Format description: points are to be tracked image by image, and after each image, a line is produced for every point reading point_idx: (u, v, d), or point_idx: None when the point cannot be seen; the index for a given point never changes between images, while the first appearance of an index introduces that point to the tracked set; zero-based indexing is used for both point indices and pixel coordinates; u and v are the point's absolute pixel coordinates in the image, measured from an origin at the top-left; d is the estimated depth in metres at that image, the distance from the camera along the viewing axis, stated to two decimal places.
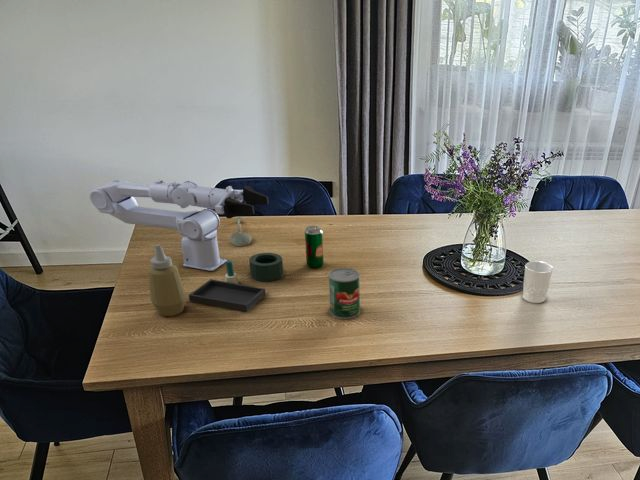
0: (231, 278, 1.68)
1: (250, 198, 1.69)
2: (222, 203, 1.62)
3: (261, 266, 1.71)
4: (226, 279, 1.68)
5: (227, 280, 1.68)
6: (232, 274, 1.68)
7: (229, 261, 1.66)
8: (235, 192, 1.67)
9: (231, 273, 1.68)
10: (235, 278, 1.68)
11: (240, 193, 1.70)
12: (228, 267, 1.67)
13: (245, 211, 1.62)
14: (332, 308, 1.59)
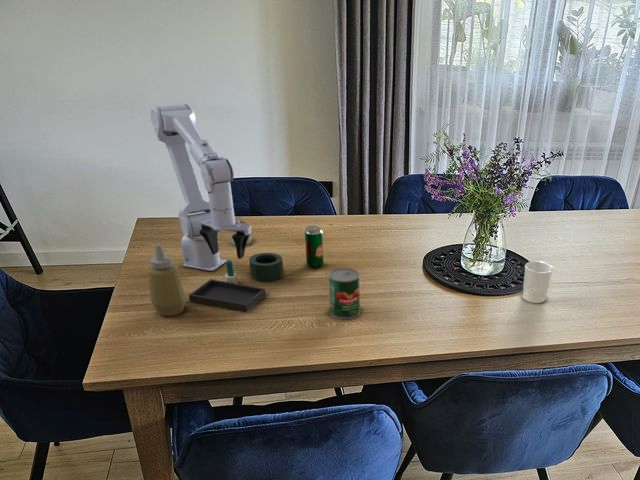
0: (231, 278, 1.68)
1: None
2: None
3: (261, 266, 1.71)
4: (226, 279, 1.68)
5: (227, 280, 1.68)
6: (232, 274, 1.68)
7: (229, 261, 1.66)
8: None
9: (231, 273, 1.68)
10: (235, 278, 1.68)
11: None
12: (228, 267, 1.67)
13: None
14: (332, 308, 1.59)
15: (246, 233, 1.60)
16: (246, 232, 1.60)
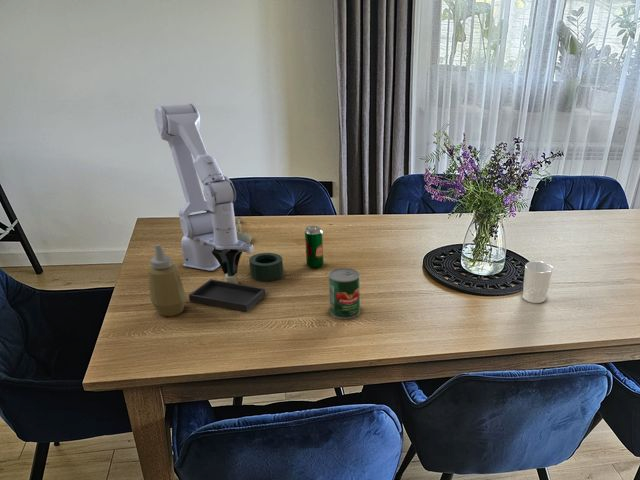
0: (231, 278, 1.68)
1: None
2: None
3: (261, 266, 1.71)
4: (226, 279, 1.68)
5: (227, 280, 1.68)
6: None
7: None
8: None
9: None
10: (235, 278, 1.68)
11: None
12: (228, 267, 1.67)
13: None
14: (332, 308, 1.59)
15: (248, 252, 1.63)
16: (248, 251, 1.62)
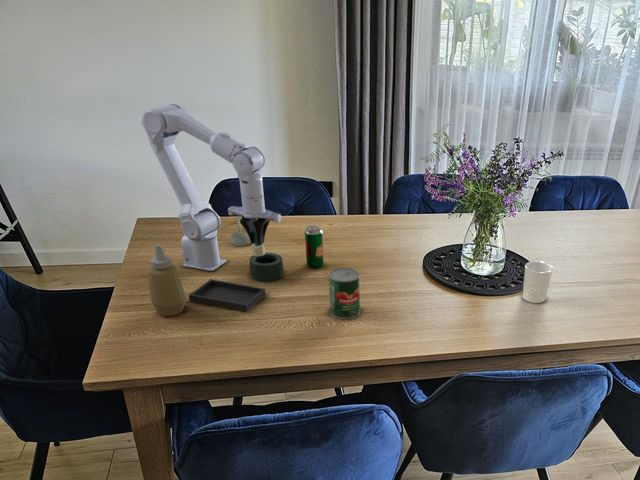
0: (258, 248, 1.69)
1: None
2: None
3: (261, 266, 1.71)
4: (253, 249, 1.70)
5: (254, 249, 1.70)
6: None
7: None
8: None
9: None
10: (262, 248, 1.70)
11: None
12: (255, 236, 1.68)
13: None
14: (332, 308, 1.59)
15: (276, 221, 1.64)
16: (276, 220, 1.64)
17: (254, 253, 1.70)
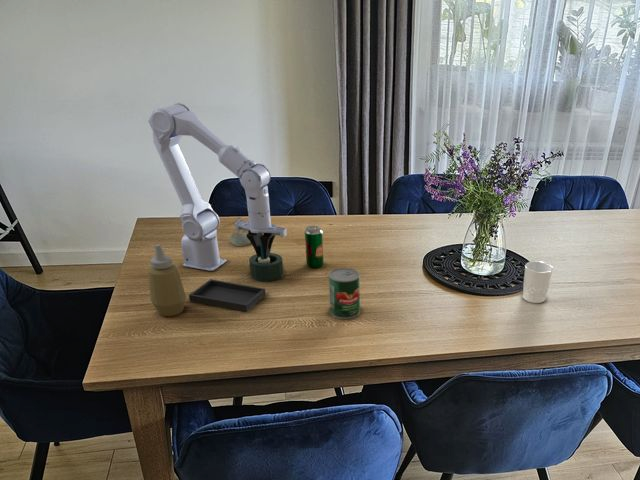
0: (264, 261, 1.73)
1: None
2: None
3: (261, 266, 1.71)
4: (259, 262, 1.74)
5: None
6: None
7: None
8: None
9: None
10: (268, 261, 1.74)
11: None
12: (261, 250, 1.72)
13: None
14: (332, 308, 1.59)
15: (282, 235, 1.68)
16: (282, 234, 1.68)
17: None
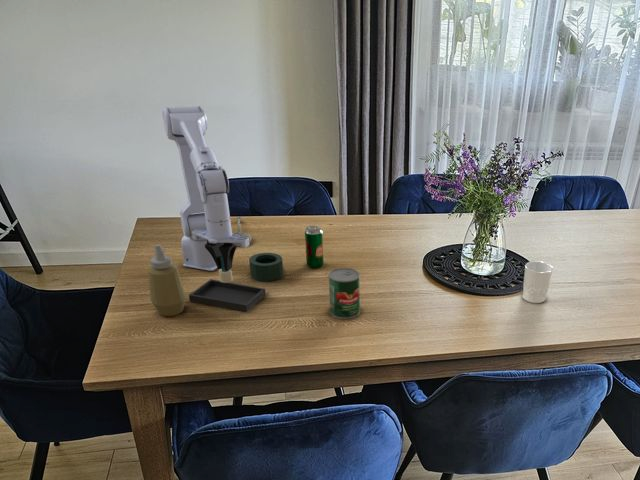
0: (225, 274, 1.58)
1: None
2: None
3: (261, 266, 1.71)
4: (220, 275, 1.58)
5: (221, 276, 1.58)
6: None
7: None
8: None
9: None
10: (230, 274, 1.59)
11: None
12: (222, 262, 1.57)
13: None
14: (332, 308, 1.59)
15: (243, 246, 1.53)
16: (243, 245, 1.53)
17: (221, 279, 1.59)
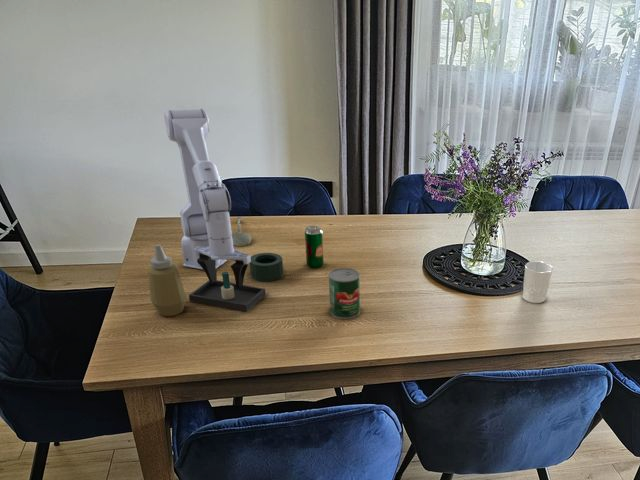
0: (227, 291, 1.60)
1: None
2: None
3: (261, 266, 1.71)
4: (222, 291, 1.61)
5: (223, 293, 1.61)
6: (228, 286, 1.61)
7: (225, 273, 1.59)
8: None
9: (227, 285, 1.60)
10: (232, 290, 1.61)
11: None
12: (224, 279, 1.59)
13: None
14: (332, 308, 1.59)
15: (245, 262, 1.55)
16: (245, 261, 1.55)
17: (223, 296, 1.61)
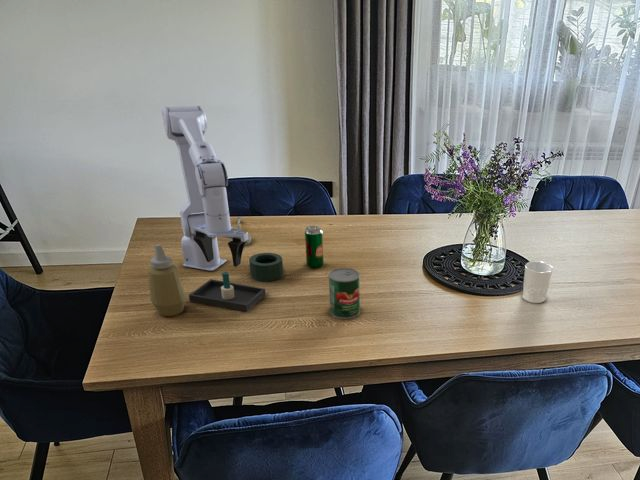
0: (227, 291, 1.60)
1: None
2: None
3: (261, 266, 1.71)
4: (222, 291, 1.61)
5: (223, 293, 1.61)
6: (228, 286, 1.61)
7: (225, 273, 1.59)
8: None
9: (227, 285, 1.60)
10: (232, 290, 1.61)
11: None
12: (224, 279, 1.59)
13: None
14: (332, 308, 1.59)
15: (242, 240, 1.52)
16: (242, 239, 1.52)
17: (223, 296, 1.61)
